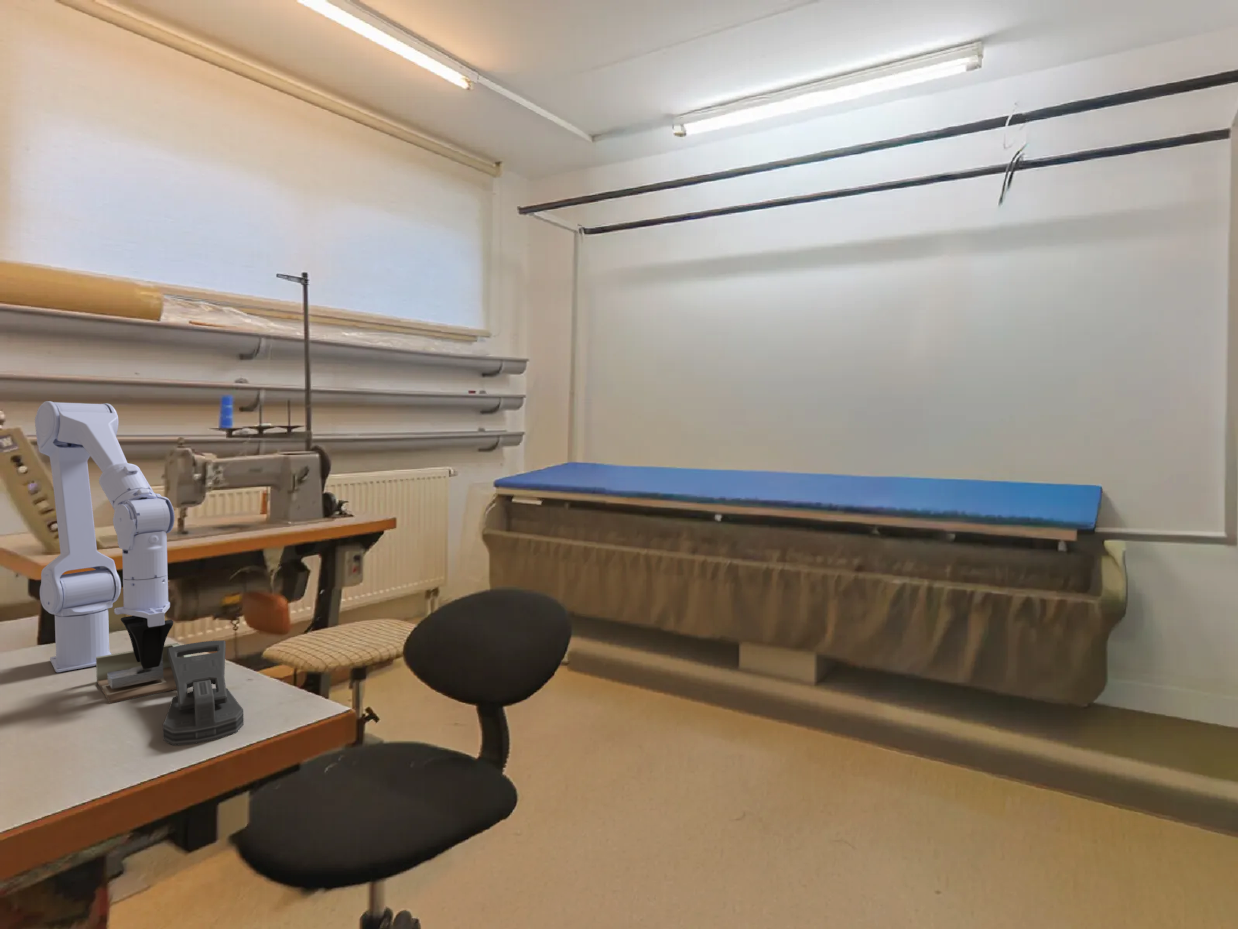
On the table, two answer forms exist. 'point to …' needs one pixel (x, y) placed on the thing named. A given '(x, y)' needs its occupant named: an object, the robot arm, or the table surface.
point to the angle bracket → (134, 676)
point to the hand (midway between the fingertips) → (147, 663)
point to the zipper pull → (200, 696)
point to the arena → (137, 690)
